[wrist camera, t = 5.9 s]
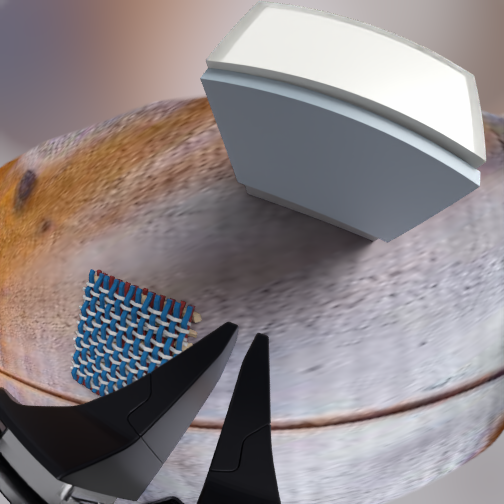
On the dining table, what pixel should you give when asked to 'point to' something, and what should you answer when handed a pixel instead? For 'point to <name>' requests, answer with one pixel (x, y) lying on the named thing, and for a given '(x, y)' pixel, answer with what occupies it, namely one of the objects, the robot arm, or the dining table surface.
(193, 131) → the dining table surface
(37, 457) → the robot arm
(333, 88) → the box
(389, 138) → the box door
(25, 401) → the dining table surface
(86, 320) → the woven mat
